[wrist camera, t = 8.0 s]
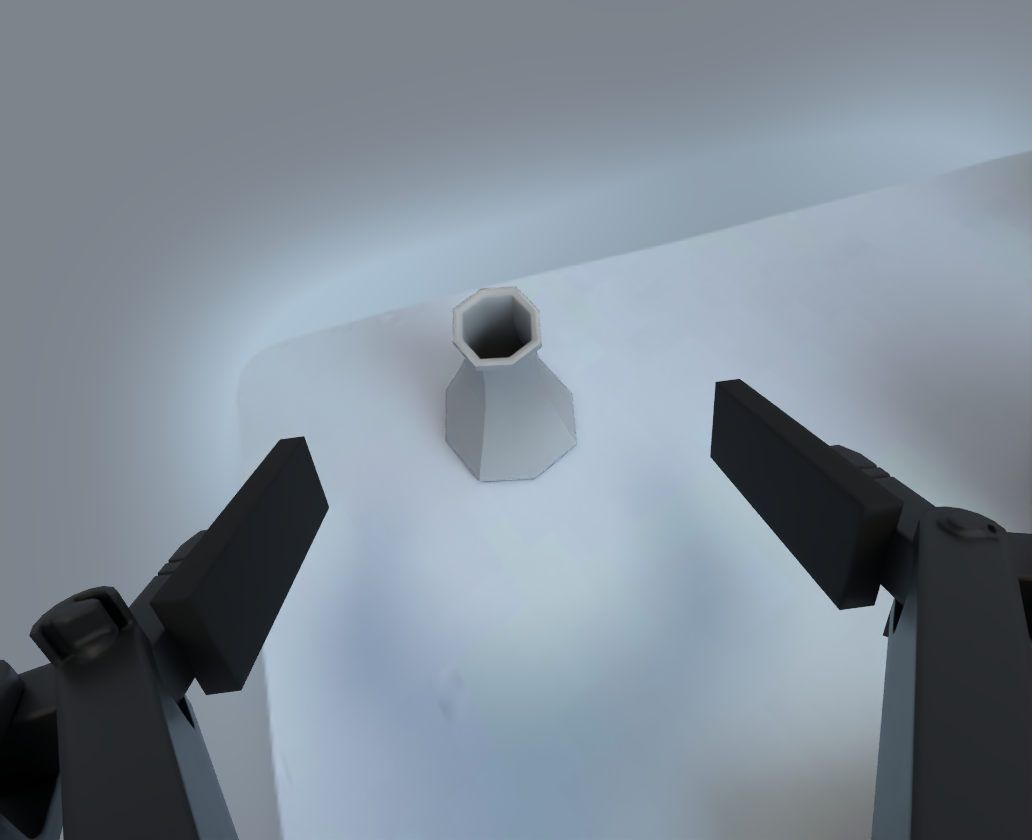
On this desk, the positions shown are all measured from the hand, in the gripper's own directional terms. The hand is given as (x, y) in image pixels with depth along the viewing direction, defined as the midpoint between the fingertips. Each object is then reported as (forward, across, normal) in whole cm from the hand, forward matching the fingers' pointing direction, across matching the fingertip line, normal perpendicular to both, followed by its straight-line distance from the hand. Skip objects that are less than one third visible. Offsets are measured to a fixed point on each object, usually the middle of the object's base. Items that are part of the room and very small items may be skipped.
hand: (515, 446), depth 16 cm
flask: (+10, 0, -4) cm, 11 cm away
